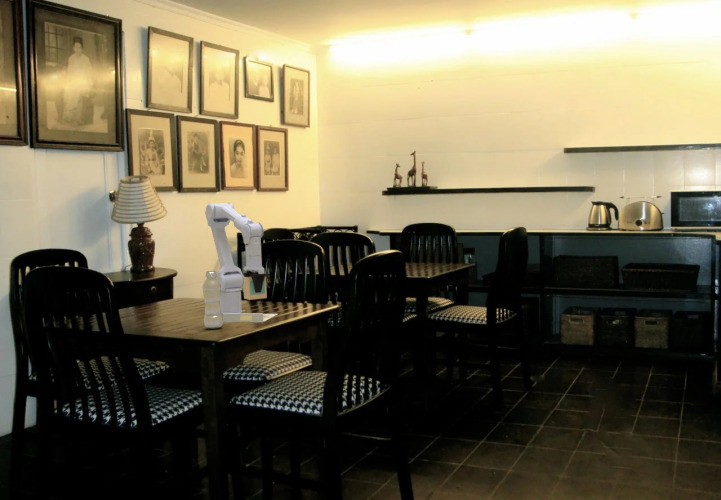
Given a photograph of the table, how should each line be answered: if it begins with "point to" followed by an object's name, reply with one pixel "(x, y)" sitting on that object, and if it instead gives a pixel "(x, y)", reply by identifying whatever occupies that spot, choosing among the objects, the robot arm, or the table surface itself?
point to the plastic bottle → (212, 301)
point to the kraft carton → (250, 291)
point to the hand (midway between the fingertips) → (255, 291)
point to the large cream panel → (246, 317)
